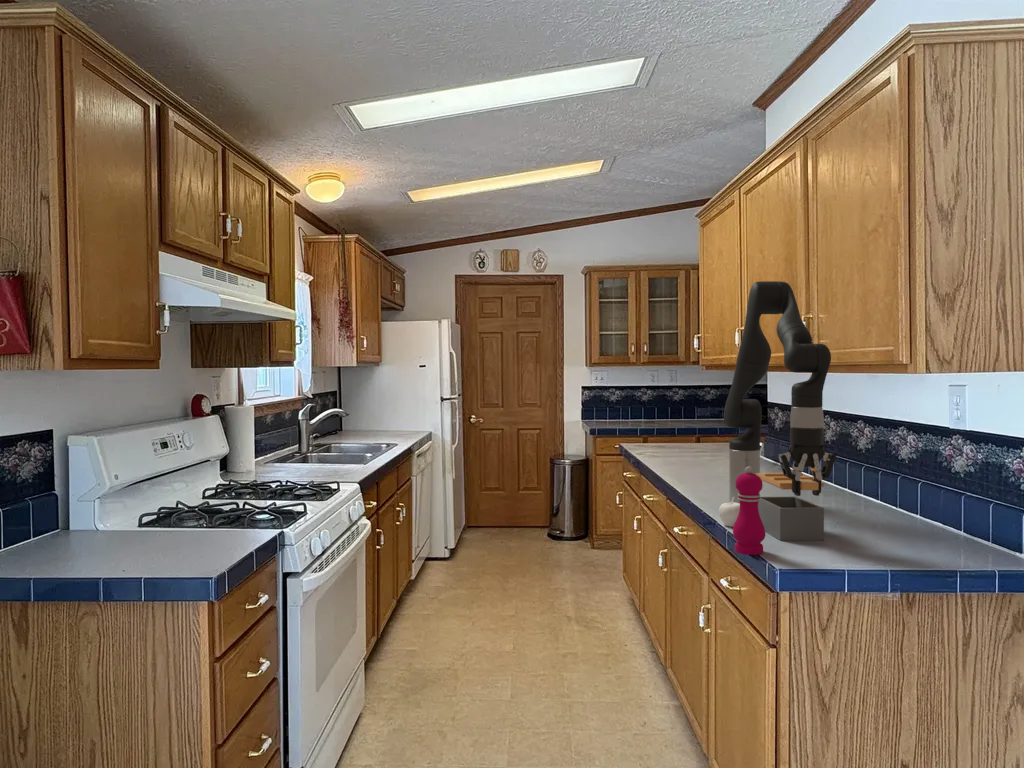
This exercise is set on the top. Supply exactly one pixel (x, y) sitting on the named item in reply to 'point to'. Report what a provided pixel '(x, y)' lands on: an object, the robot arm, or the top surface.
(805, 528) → the tub
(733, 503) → the apple
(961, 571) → the top surface
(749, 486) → the pepper mill
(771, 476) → the wooden paddle board
